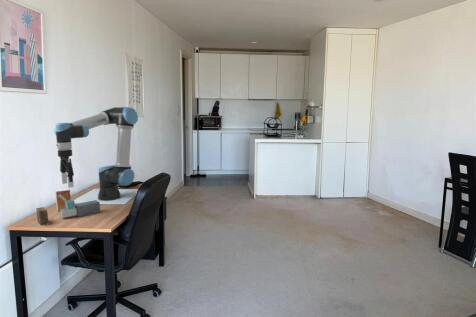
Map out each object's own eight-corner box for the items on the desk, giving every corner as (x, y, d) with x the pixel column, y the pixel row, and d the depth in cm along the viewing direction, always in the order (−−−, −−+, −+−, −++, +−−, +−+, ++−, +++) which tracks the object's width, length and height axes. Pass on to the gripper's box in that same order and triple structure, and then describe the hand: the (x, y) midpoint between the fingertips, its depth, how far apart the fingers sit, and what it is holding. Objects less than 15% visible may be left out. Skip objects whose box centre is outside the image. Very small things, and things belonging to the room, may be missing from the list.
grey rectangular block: (96, 210, 221) (95, 200, 220) (100, 212, 216) (99, 202, 215) (74, 214, 212) (74, 204, 211) (78, 217, 207) (77, 206, 206)
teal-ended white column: (93, 209, 218) (92, 195, 217) (96, 210, 215) (95, 197, 213) (60, 215, 206) (59, 201, 205) (63, 217, 203) (61, 203, 201)
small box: (57, 211, 219) (55, 191, 217) (56, 209, 224) (54, 189, 222) (71, 209, 223) (70, 189, 221) (70, 207, 229) (68, 187, 227)
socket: (45, 220, 203) (44, 206, 202) (48, 223, 197) (47, 209, 195) (37, 221, 200) (36, 208, 199) (40, 225, 194) (39, 211, 193)
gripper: (52, 148, 209) (55, 182, 212) (63, 152, 190) (66, 190, 193) (66, 147, 213) (68, 181, 217) (77, 150, 195) (80, 187, 198)
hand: (67, 185), depth 205 cm, fingers open, 13 cm apart
